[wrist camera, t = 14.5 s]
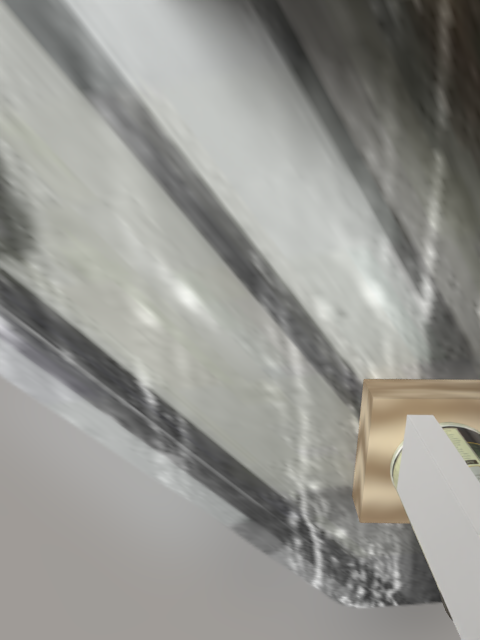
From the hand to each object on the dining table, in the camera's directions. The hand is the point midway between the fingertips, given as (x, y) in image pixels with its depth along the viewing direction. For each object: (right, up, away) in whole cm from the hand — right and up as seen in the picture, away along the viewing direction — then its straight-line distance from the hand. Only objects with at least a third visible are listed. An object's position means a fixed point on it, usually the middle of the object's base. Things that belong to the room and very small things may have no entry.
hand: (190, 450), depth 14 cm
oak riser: (+22, -9, +36) cm, 43 cm away
